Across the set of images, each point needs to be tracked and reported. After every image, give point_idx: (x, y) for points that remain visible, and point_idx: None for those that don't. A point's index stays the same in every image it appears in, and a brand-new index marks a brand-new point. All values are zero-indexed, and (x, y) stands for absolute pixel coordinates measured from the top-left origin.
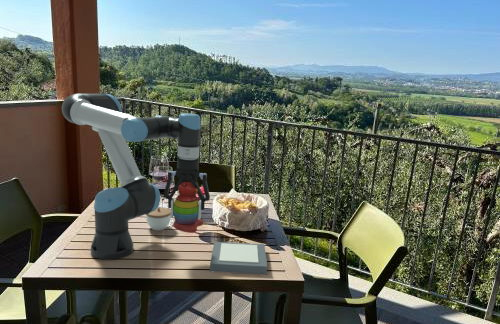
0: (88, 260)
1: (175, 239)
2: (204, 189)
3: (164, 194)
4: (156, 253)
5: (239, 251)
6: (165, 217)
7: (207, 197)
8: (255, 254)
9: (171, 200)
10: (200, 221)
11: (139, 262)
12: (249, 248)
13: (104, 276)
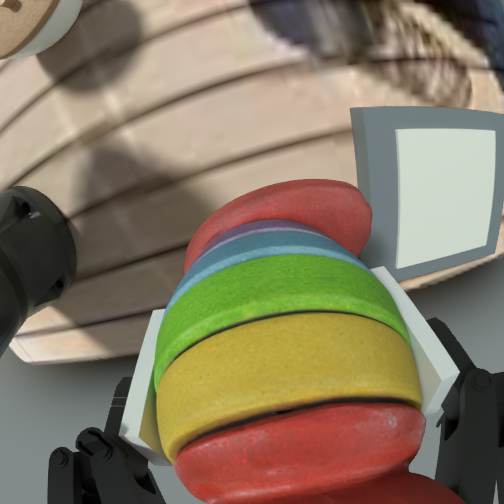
0: None
1: (155, 69)
2: (502, 497)
3: (95, 499)
4: (142, 214)
5: (455, 190)
6: (54, 13)
7: (500, 424)
8: (488, 201)
9: (155, 463)
10: (364, 242)
11: (131, 284)
12: (479, 161)
13: (110, 352)
